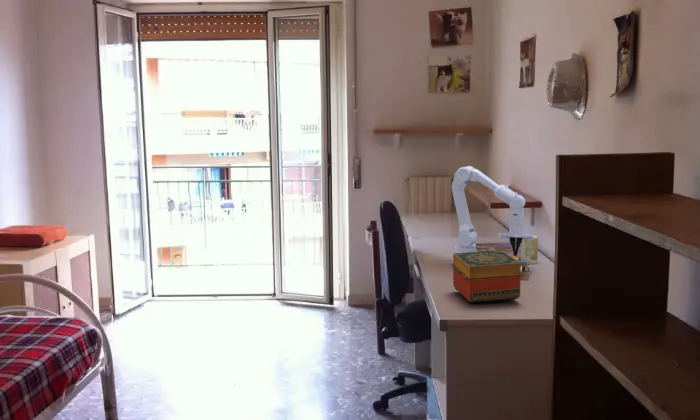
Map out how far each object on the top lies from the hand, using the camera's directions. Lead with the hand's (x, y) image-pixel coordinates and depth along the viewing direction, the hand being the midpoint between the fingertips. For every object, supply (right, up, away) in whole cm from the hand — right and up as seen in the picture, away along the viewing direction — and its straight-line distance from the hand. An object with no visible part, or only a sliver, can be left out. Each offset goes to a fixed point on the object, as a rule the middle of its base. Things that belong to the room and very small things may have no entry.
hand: (515, 255), depth 260 cm
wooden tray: (-7, -8, -7) cm, 13 cm away
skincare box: (+10, -5, +16) cm, 20 cm away
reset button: (0, -5, +1) cm, 5 cm away
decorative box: (-22, -13, -40) cm, 48 cm away
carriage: (-3, -7, -9) cm, 12 cm away
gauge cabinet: (0, -7, +1) cm, 7 cm away
